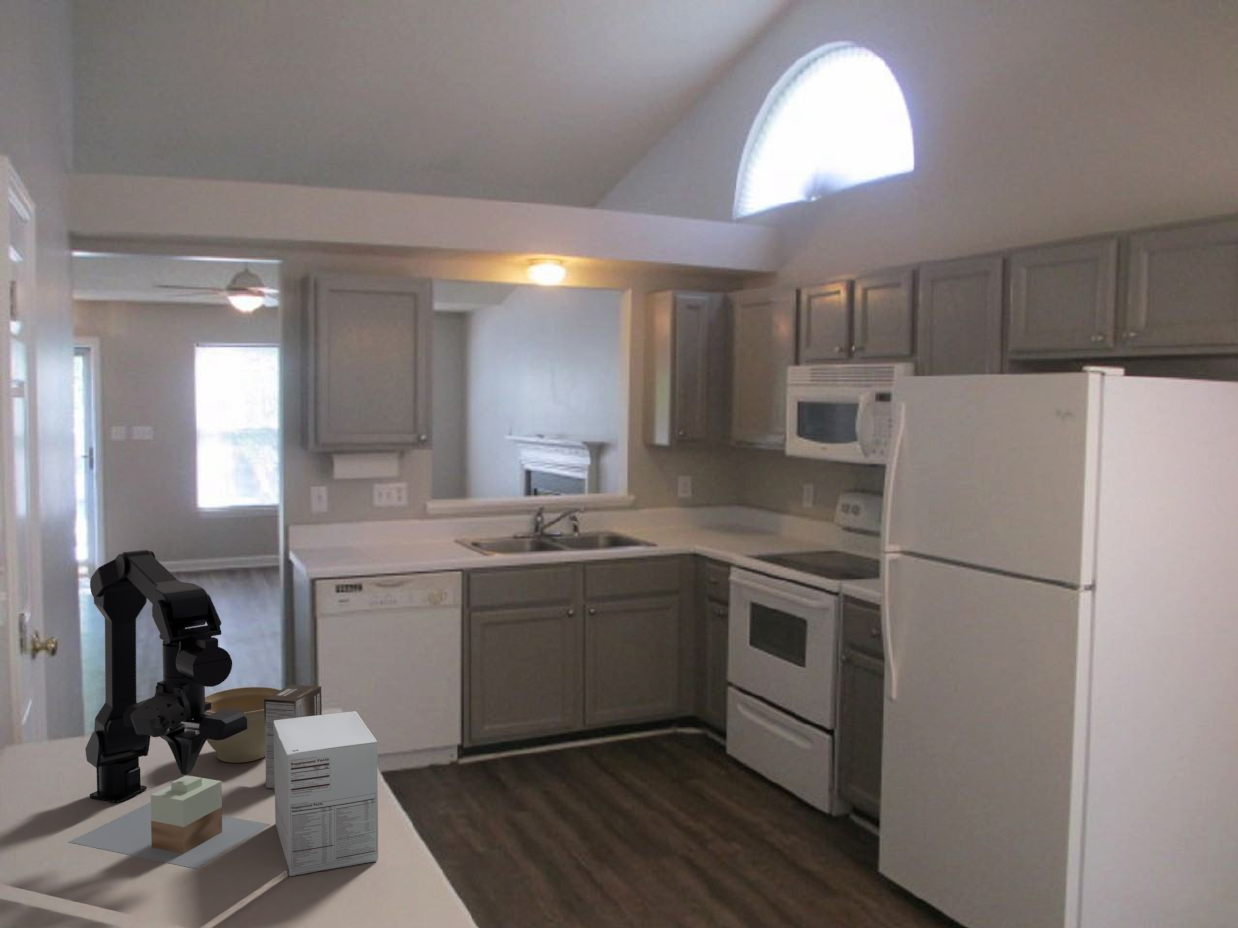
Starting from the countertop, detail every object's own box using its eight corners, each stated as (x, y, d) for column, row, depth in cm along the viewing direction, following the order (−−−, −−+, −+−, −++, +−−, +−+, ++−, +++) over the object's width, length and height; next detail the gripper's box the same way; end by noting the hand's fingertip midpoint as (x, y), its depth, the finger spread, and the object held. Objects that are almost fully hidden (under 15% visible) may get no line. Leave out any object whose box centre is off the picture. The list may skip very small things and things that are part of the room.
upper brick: (183, 826, 150) (182, 792, 149) (151, 820, 152) (150, 786, 152) (222, 806, 157) (221, 773, 157) (190, 800, 159) (190, 768, 159)
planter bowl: (178, 763, 189) (177, 706, 189) (239, 736, 204) (238, 682, 204) (249, 775, 184) (248, 716, 183) (306, 746, 199) (305, 691, 198)
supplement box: (381, 861, 151) (380, 741, 150) (287, 878, 145) (285, 754, 144) (358, 817, 167) (357, 708, 165) (273, 831, 161) (271, 718, 160)
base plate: (68, 849, 154) (68, 841, 154) (150, 809, 169) (150, 801, 169) (196, 876, 146) (196, 868, 145) (270, 831, 161) (270, 824, 160)
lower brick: (183, 853, 150) (182, 819, 150) (151, 847, 152) (150, 813, 152) (222, 831, 158) (221, 799, 157) (191, 825, 160) (190, 793, 159)
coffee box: (291, 769, 187) (290, 683, 186) (323, 772, 186) (322, 685, 185) (264, 788, 178) (263, 697, 177) (298, 791, 177) (297, 700, 176)
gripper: (91, 680, 149) (94, 784, 150) (194, 694, 142) (196, 803, 143) (151, 661, 159) (153, 759, 160) (248, 673, 153) (250, 775, 154)
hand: (186, 774), depth 154 cm, fingers closed
